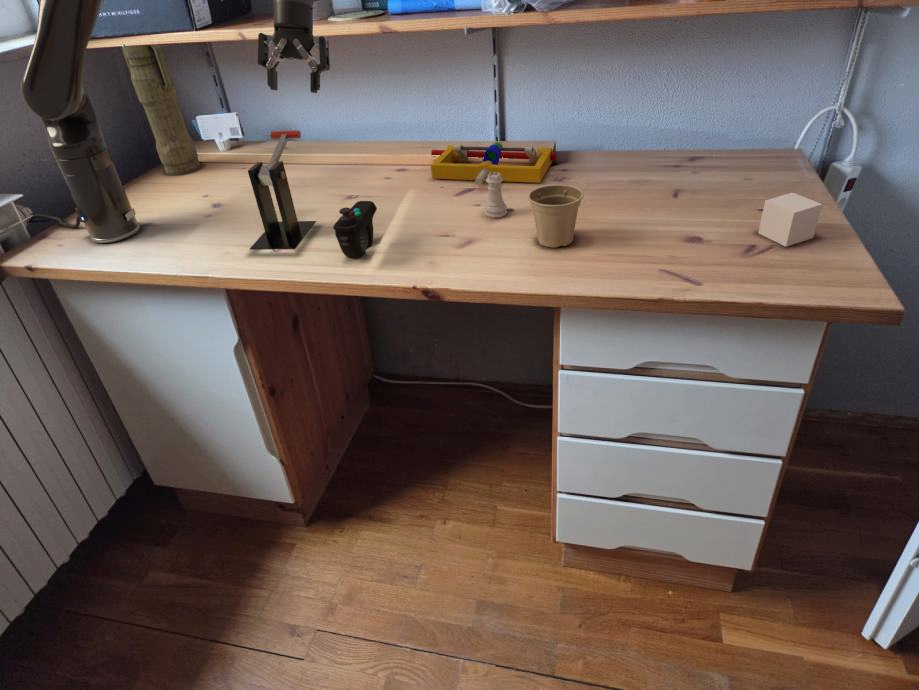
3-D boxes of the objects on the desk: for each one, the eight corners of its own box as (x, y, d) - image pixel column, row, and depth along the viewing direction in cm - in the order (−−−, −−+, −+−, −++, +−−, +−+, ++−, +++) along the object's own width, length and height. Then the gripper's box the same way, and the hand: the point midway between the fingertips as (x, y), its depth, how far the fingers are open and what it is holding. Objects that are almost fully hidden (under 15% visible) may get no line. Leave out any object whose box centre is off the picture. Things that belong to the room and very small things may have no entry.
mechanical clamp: (433, 132, 149) (558, 134, 140) (435, 158, 153) (557, 161, 144) (404, 158, 135) (540, 163, 126) (407, 186, 139) (540, 192, 130)
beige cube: (784, 225, 109) (792, 192, 106) (813, 238, 105) (822, 204, 101) (758, 233, 108) (765, 200, 104) (785, 246, 103) (794, 212, 99)
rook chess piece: (488, 208, 125) (485, 170, 121) (509, 210, 124) (508, 170, 119) (482, 218, 122) (479, 178, 117) (504, 219, 121) (502, 179, 116)
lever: (275, 138, 122) (270, 127, 120) (302, 137, 121) (298, 126, 119) (253, 186, 114) (248, 175, 112) (282, 185, 113) (277, 174, 111)
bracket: (275, 227, 127) (255, 155, 118) (317, 226, 125) (300, 153, 116) (251, 255, 117) (227, 178, 108) (296, 254, 115) (276, 177, 107)
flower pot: (530, 228, 116) (529, 184, 111) (582, 228, 114) (583, 183, 109) (526, 252, 109) (525, 205, 104) (581, 252, 107) (583, 205, 102)
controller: (338, 269, 109) (326, 216, 104) (363, 237, 119) (353, 187, 113) (361, 270, 108) (351, 216, 103) (384, 238, 118) (376, 187, 112)
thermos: (190, 176, 157) (137, 21, 136) (153, 174, 160) (96, 23, 140) (212, 163, 163) (165, 14, 143) (176, 162, 167) (125, 16, 147)
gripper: (250, -4, 120) (252, 87, 125) (321, 0, 119) (321, 91, 124) (266, 6, 127) (268, 91, 132) (334, 9, 126) (333, 95, 131)
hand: (293, 91), depth 128 cm, fingers open, 8 cm apart
